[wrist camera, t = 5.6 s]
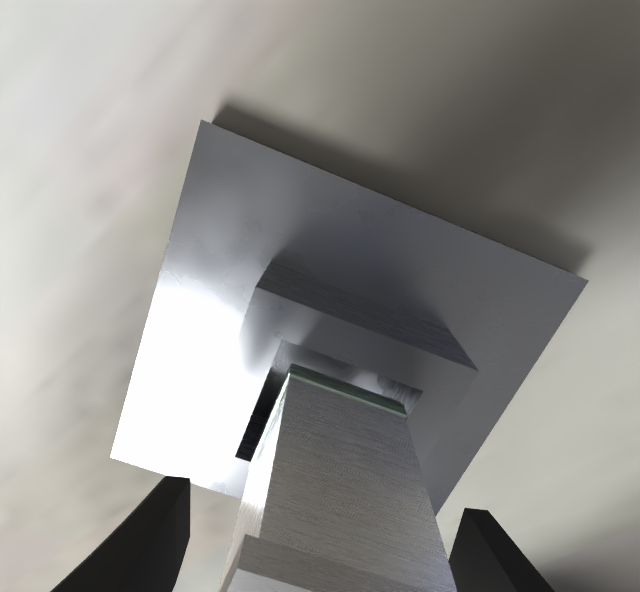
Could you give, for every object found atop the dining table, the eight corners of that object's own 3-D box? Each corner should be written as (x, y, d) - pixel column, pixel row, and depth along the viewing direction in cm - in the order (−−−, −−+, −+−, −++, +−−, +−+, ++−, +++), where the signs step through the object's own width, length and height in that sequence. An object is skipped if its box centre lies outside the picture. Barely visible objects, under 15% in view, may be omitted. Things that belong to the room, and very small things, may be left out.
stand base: (570, 272, 17) (654, 310, 12) (407, 533, 22) (426, 624, 17) (210, 122, 15) (163, 107, 11) (122, 440, 20) (66, 515, 16)
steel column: (412, 397, 13) (500, 648, 6) (359, 494, 15) (384, 784, 8) (286, 352, 13) (237, 568, 6) (243, 456, 14) (164, 729, 7)
